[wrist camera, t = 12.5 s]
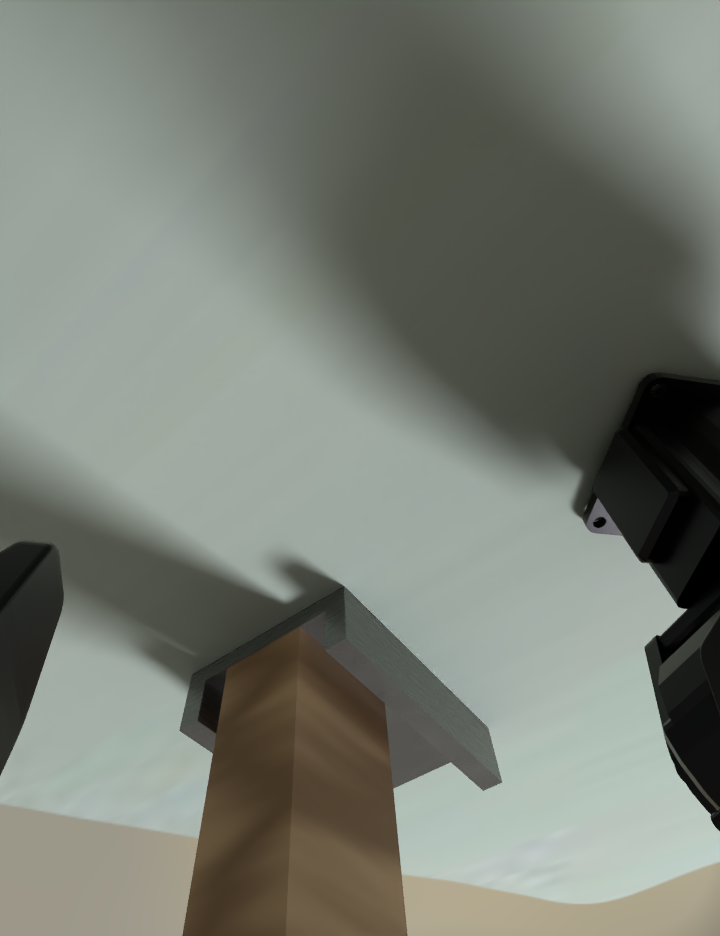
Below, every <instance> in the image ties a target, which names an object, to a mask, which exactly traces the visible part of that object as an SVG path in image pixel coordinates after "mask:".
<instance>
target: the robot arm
mask: <svg viewBox="0 0 720 936" xmlns="http://www.w3.org/2000/svg"><path fill="white" fill-rule="evenodd" d="M657 384H660V388H659V389H658V390H657V391H656V392H654V393H651V389H652V388H653V387H654V386H656V385H657ZM593 491H594V492H593V494H592V497H591V499H590V501H589V504H588V506H587V508H586V511H585V513H584V516H583V521H584V523H585V525H586V527H587V528H588V530H590V531H591V532H594V533H601V534H610V535H620V536H623V537H624V538H625V540H626V541H627V543H628V544H629V546H630V547H631V549H632V550H633V552H634V553H635V555H636V556H637V558H638V559H639V561H640V562H642V563H649V564H650V566H651V567H652V569H653V570H654V572H655V573H656V575H657V576H658V578H659V579H660V581H661V582H662V584H663V585H664V586H665V588H666V589H667V591H668V592H669V594H670V595H671V597H672V598H673V600H674V601H675V603H676V604H677V606H678V607H680V608H684V609H687V610H686V611H685V612H684V613H683V614H682V615H681V616H680V617H679V618H678V619H677V620H676V621H675V622H674V623H673V624H672V625H671V626H670V627H669V628H668V629H667V630H666V631H665V632H664V633H663V634H662V635H661V636H658V635H656V636H655V637H654V638H653V639H652V640H651V641H650V642H649V643H648V644H647V645H646V646H645V652H646V657H647V661H648V666H649V670H650V674H651V679H652V683H653V687H654V692H655V696H656V700H657V705H658V709H659V714H660V718H661V722H662V727H663V732H664V737H665V740H666V744H667V747H668V750H669V753H670V756H671V759H672V761H673V762H674V764H675V768H676V771H677V773H678V775H679V776H680V778H681V779H682V780H683V781H684V782H685V783H686V784H687V786H688V787H689V789H690V790H691V792H692V793H693V794H694V796H695V797H696V798H697V799H698V800H699V801H700V803H701V804H702V805H703V806H704V807H705V809H706V810H707V811H708V812H709V813H710V814H711V820H712V822H713V824H714V825H715V827H716V828H717V829H718V830H719V831H720V381H717V380H709V379H702V378H695V377H688V376H680V375H673V374H666V373H652V374H649V375H647V376H646V377H645V378H643V379H642V381H641V382H640V384H639V386H638V388H637V391H636V393H635V395H634V398H633V400H632V402H631V405H630V407H629V409H628V412H627V414H626V417H625V419H624V421H623V424H622V426H621V428H620V429H619V430H618V431H617V432H616V433H615V436H614V438H613V440H612V443H611V445H610V447H609V450H608V452H607V455H606V457H605V459H604V462H603V464H602V466H601V469H600V471H599V473H598V476H597V478H596V481H595V483H594V485H593ZM599 517H602V518H601V519H600V520H599V521H596V522H594V520H595V519H597V518H599ZM63 600H64V591H63V583H62V574H61V566H60V558H59V552H58V549H57V547H56V546H55V545H54V544H52V543H46V542H34V541H19V542H17V543H15V544H13V545H11V546H9V547H8V548H6V549H4V550H3V551H1V552H0V775H1V773H2V771H3V769H4V766H5V764H6V762H7V760H8V758H9V756H10V753H11V751H12V749H13V747H14V745H15V743H16V740H17V738H18V736H19V733H20V731H21V729H22V726H23V724H24V721H25V718H26V715H27V712H28V710H29V707H30V704H31V701H32V698H33V695H34V692H35V689H36V686H37V683H38V680H39V677H40V674H41V671H42V668H43V665H44V662H45V659H46V656H47V653H48V650H49V647H50V644H51V641H52V638H53V635H54V632H55V629H56V626H57V623H58V620H59V617H60V614H61V611H62V606H63Z"/></svg>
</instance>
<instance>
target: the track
mask: <svg viewBox="0 0 720 936" xmlns="http://www.w3.org/2000/svg"><path fill="white" fill-rule="evenodd" d="M299 626H300V627H302V628H303V629H304V630H305V631H306V632H307V633H308V634H310V635H311V636H312V637H313V638H314V639H315V640H316V641H318V642H319V643H320V644H321V645H322V646H323V647H324V648H325V651H326V652H327V653H328V654H330V655H331V656H332V657H333V658H334V659H335V660H336V661H337V662H339V663H340V664H341V665H342V666H343V667H344V668H345V669H346V670H348V671H349V672H350V673H351V674H352V675H353V676H354V677H356V678H357V679H358V680H359V681H360V682H361V683H362V684H363V685H365V686H366V687H367V688H368V689H369V690H370V691H371V692H372V693H374V694H375V695H376V696H377V697H378V698H379V699H380V700H381V701H383V702H384V703H385V711H386V721H387V731H388V742H389V752H390V762H391V773H392V783H393V788H395V787H398V786H400V785H402V784H404V783H406V782H408V781H411V780H413V779H415V778H417V777H419V776H422V775H424V774H426V773H428V772H430V771H432V770H435V769H437V768H439V767H441V766H443V765H446V764H448V763H450V762H451V763H453V764H454V765H455V766H456V767H457V768H458V769H459V770H461V771H462V772H463V773H464V774H465V775H466V776H467V777H468V778H470V779H471V780H472V781H473V782H474V783H475V784H476V785H477V786H479V787H480V788H481V789H482V790H483V791H484V790H486V789H488V788H491V787H493V786H495V785H497V784H500V783H502V780H501V776H500V772H499V768H498V764H497V760H496V756H495V753H494V749H493V745H492V741H491V737H490V733H489V729H488V728H487V727H486V726H485V725H484V724H483V723H482V722H481V721H480V720H479V719H478V718H477V717H476V716H475V715H474V714H473V713H472V712H471V711H470V710H469V709H468V708H467V707H466V706H465V705H464V704H463V703H462V702H461V701H460V700H459V699H458V698H457V697H456V696H455V695H454V694H453V693H452V692H451V691H450V690H449V689H448V688H447V687H446V686H445V685H444V684H443V683H442V682H441V681H439V680H438V679H437V678H436V677H435V676H434V675H433V674H432V673H431V672H430V671H429V670H428V669H427V668H426V667H425V666H424V665H423V664H422V663H421V662H420V661H419V660H418V659H417V658H416V657H415V656H414V655H413V654H412V653H411V652H410V651H409V650H408V649H407V648H406V647H405V646H404V645H403V644H402V643H401V642H400V641H399V640H398V639H397V638H396V637H395V636H394V635H393V634H392V633H391V632H390V631H389V630H388V629H387V628H386V627H385V626H384V625H383V624H382V623H381V622H380V621H378V620H377V619H376V618H375V617H374V616H373V615H372V614H371V613H370V612H369V611H368V610H367V609H366V608H365V607H364V606H363V605H362V604H361V603H360V602H359V601H358V600H357V599H356V598H355V597H354V596H353V595H352V594H351V593H350V592H349V591H348V590H347V589H346V588H345V587H343V588H341V589H339V590H337V591H336V592H334V593H332V594H331V595H329V596H327V597H325V598H324V599H322V600H320V601H319V602H317V603H315V604H313V605H312V606H310V607H308V608H307V609H305V610H303V611H301V612H300V613H298V614H296V615H295V616H293V617H291V618H289V619H288V620H286V621H284V622H283V623H281V624H279V625H277V626H276V627H274V628H272V629H271V630H269V631H267V632H265V633H264V634H262V635H260V636H259V637H257V638H255V639H253V640H252V641H250V642H248V643H247V644H245V645H243V646H241V647H240V648H238V649H236V650H235V651H233V652H231V653H229V654H228V655H226V656H224V657H223V658H221V659H219V660H217V661H216V662H214V663H212V664H211V665H209V666H207V667H205V668H204V669H202V670H200V671H199V672H197V673H195V674H193V675H192V677H191V682H190V686H189V691H188V695H187V700H186V704H185V708H184V713H183V717H182V722H181V726H180V731H181V732H182V733H184V734H185V735H187V736H188V737H190V738H191V739H192V740H194V741H195V742H197V743H198V744H200V745H201V746H203V747H204V748H206V749H207V750H209V751H210V752H212V753H213V751H214V745H215V739H216V733H217V727H218V721H219V715H220V709H221V703H222V697H223V691H224V685H225V679H226V673H227V669H228V668H229V667H231V666H233V665H234V664H236V663H238V662H240V661H241V660H243V659H245V658H246V657H248V656H250V655H252V654H253V653H255V652H257V651H258V650H260V649H262V648H263V647H265V646H267V645H269V644H270V643H272V642H274V641H275V640H277V639H279V638H280V637H282V636H284V635H286V634H287V633H289V632H291V631H292V630H294V629H296V628H298V627H299Z"/></svg>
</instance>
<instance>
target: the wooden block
mask: <svg viewBox="0 0 720 936" xmlns="http://www.w3.org/2000/svg"><path fill="white" fill-rule="evenodd" d="M183 936H407V927H406V917H405V906H404V896H403V886H402V875H401V865H400V855H399V845H398V834H397V824H396V814H395V803H394V793H393V783H392V773H391V762H390V752H389V742H388V731H387V721H386V711H385V703H384V702H383V701H381V700H380V699H379V698H378V697H377V696H376V695H375V694H374V693H372V692H371V691H370V690H369V689H368V688H367V687H366V686H365V685H363V684H362V683H361V682H360V681H359V680H358V679H357V678H356V677H354V676H353V675H352V674H351V673H350V672H349V671H348V670H346V669H345V668H344V667H343V666H342V665H341V664H340V663H339V662H337V661H336V660H335V659H334V658H333V657H332V656H331V655H330V654H328V653H327V652H326V651H325V648H324V647H323V646H322V645H321V644H320V643H319V642H318V641H316V640H315V639H314V638H313V637H312V636H311V635H310V634H308V633H307V632H306V631H305V630H304V629H303V628H302V627H300V626H299V627H298V628H296V629H294V630H292V631H291V632H289V633H287V634H286V635H284V636H282V637H280V638H279V639H277V640H275V641H274V642H272V643H270V644H269V645H267V646H265V647H263V648H262V649H260V650H258V651H257V652H255V653H253V654H252V655H250V656H248V657H246V658H245V659H243V660H241V661H240V662H238V663H236V664H234V665H233V666H231V667H229V668H228V669H227V673H226V679H225V685H224V691H223V697H222V703H221V709H220V715H219V721H218V727H217V733H216V739H215V745H214V751H213V757H212V763H211V769H210V775H209V781H208V787H207V793H206V799H205V805H204V811H203V817H202V823H201V829H200V835H199V841H198V847H197V853H196V859H195V864H194V871H193V877H192V882H191V888H190V895H189V900H188V906H187V913H186V919H185V924H184V930H183Z"/></svg>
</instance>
